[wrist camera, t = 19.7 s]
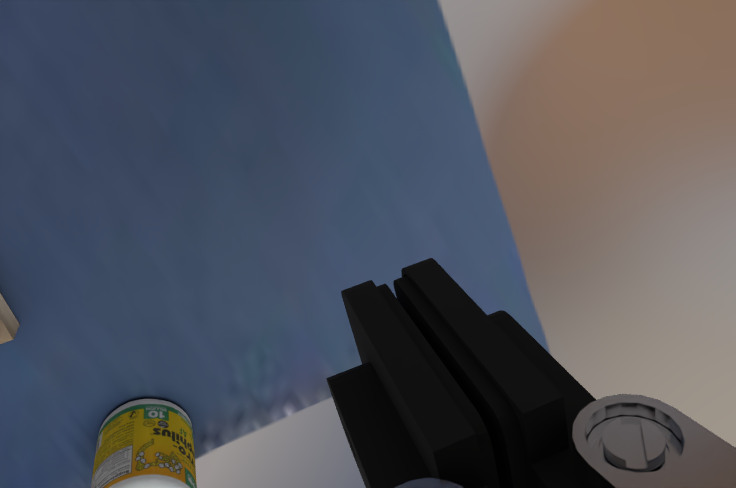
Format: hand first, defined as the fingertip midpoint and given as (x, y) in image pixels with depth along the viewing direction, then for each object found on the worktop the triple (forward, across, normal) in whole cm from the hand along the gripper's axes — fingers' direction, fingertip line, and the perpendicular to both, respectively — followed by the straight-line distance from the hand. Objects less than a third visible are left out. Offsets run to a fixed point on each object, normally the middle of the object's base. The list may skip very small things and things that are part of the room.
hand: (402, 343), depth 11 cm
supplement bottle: (+23, +12, +17) cm, 31 cm away
